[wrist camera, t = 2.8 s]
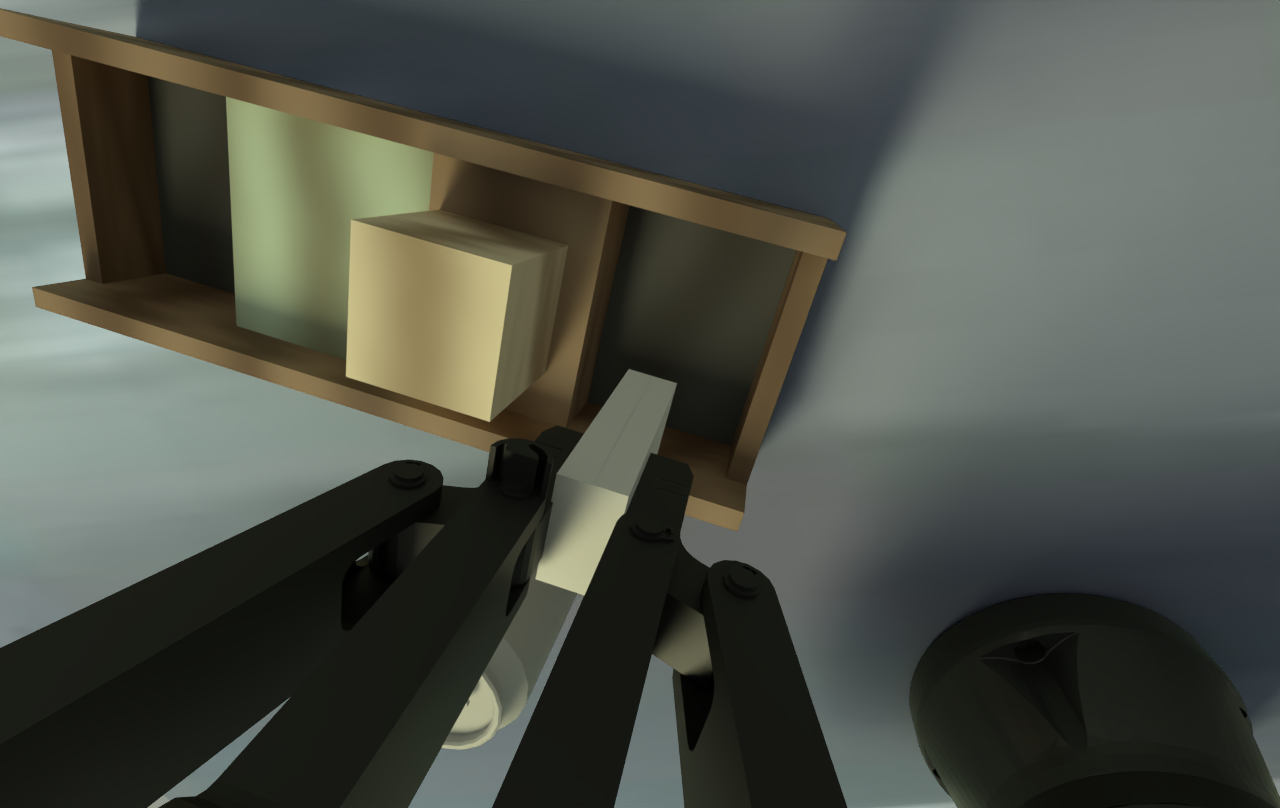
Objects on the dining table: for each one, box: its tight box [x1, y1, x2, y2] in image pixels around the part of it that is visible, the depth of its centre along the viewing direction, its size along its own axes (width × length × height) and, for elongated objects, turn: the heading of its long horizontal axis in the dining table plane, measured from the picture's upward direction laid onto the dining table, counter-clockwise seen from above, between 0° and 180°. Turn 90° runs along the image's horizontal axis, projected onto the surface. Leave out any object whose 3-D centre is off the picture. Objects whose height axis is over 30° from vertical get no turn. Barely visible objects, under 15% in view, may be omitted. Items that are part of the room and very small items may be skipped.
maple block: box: [346, 210, 568, 422], centre depth 24 cm, size 6×6×6 cm
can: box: [441, 563, 577, 749], centre depth 31 cm, size 8×8×12 cm
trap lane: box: [0, 8, 847, 531], centre depth 28 cm, size 36×13×6 cm, turn 76°
